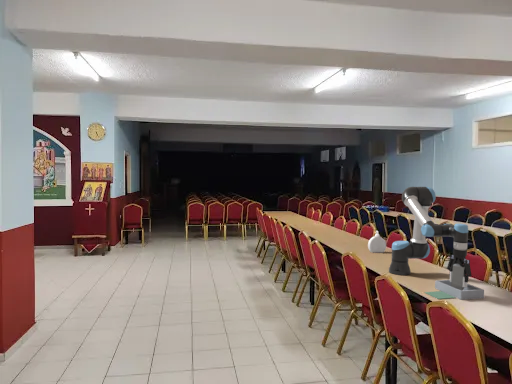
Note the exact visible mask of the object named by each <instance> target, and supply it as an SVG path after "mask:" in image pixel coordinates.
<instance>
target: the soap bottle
mask: <svg viewBox="0 0 512 384" xmlns="http://www.w3.org/2000/svg"><path fill="white" fill-rule="evenodd" d="M375 232H376V233H375V234H374V236H372V237H371V238H370V239H369V240H368V243H367V249H368V250H369V252H370V253H381V254H382V253H385V251H386V248H387V243H386V240H385V239H384V238H382V236H381V235H380V234H379V231H378V230H375Z"/></svg>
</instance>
